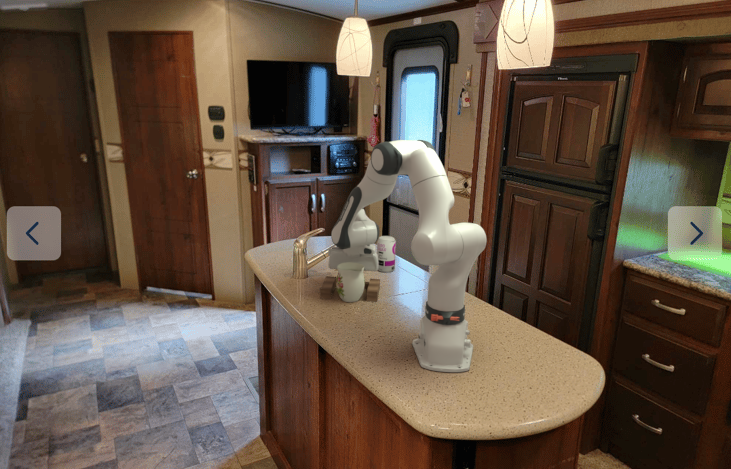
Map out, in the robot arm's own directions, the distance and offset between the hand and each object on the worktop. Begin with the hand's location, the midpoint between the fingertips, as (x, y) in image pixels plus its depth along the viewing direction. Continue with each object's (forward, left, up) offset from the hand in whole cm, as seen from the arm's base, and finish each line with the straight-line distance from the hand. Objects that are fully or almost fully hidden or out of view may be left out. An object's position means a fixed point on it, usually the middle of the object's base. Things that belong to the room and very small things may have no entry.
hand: (353, 279), depth 197 cm
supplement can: (+24, -12, -4) cm, 27 cm away
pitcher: (-11, 0, -4) cm, 12 cm away
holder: (-6, 0, -3) cm, 7 cm away
